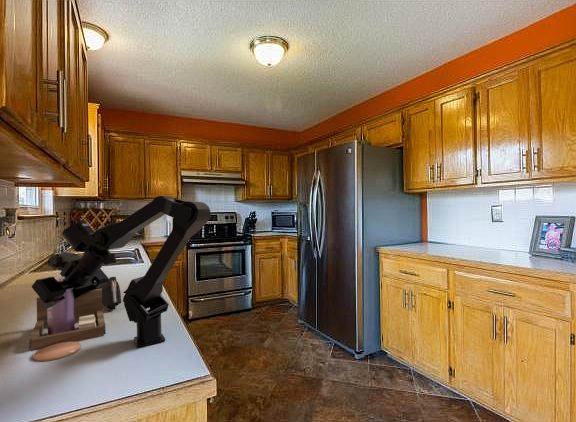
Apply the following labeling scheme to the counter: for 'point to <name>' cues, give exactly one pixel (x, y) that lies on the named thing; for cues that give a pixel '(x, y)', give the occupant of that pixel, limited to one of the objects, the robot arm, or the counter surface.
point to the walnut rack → (82, 307)
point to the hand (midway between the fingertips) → (56, 303)
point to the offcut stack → (87, 321)
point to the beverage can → (62, 313)
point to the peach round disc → (57, 351)
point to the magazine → (111, 293)
